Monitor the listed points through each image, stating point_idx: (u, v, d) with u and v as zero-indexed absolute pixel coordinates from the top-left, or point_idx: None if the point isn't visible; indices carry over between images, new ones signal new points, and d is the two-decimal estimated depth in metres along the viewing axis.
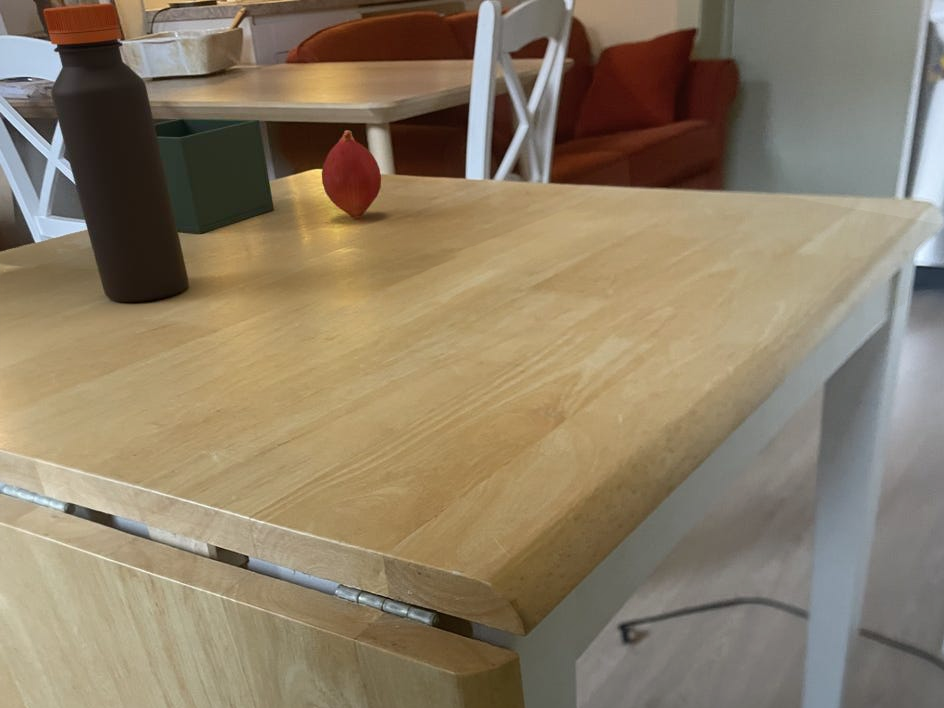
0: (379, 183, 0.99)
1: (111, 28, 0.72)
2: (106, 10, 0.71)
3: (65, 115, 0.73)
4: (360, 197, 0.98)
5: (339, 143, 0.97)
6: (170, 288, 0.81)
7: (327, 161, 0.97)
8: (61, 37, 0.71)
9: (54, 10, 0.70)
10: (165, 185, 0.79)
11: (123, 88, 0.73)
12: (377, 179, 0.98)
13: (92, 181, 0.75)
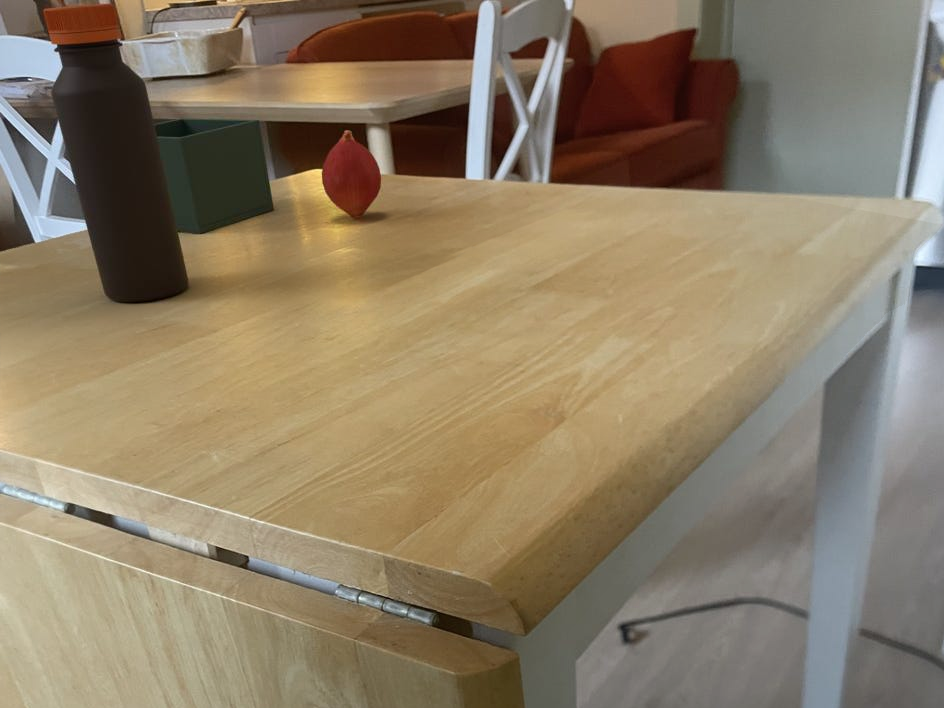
0: (379, 183, 0.99)
1: (111, 28, 0.72)
2: (106, 11, 0.71)
3: (65, 115, 0.73)
4: (360, 197, 0.98)
5: (339, 143, 0.97)
6: (170, 288, 0.81)
7: (327, 161, 0.97)
8: (61, 37, 0.71)
9: (54, 10, 0.70)
10: (165, 185, 0.79)
11: (123, 89, 0.73)
12: (377, 179, 0.98)
13: (92, 181, 0.75)
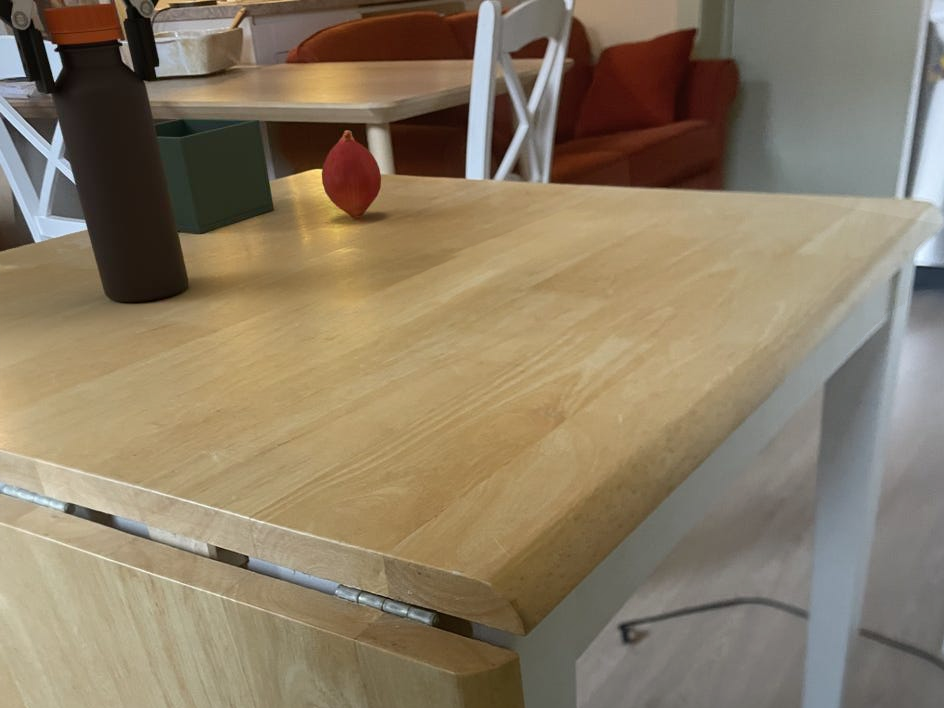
0: (379, 183, 0.99)
1: (111, 28, 0.72)
2: (106, 10, 0.71)
3: (65, 115, 0.73)
4: (360, 197, 0.98)
5: (339, 143, 0.97)
6: (170, 288, 0.81)
7: (327, 161, 0.97)
8: (62, 37, 0.71)
9: (54, 10, 0.70)
10: (165, 185, 0.78)
11: (123, 88, 0.73)
12: (377, 179, 0.98)
13: (92, 181, 0.75)
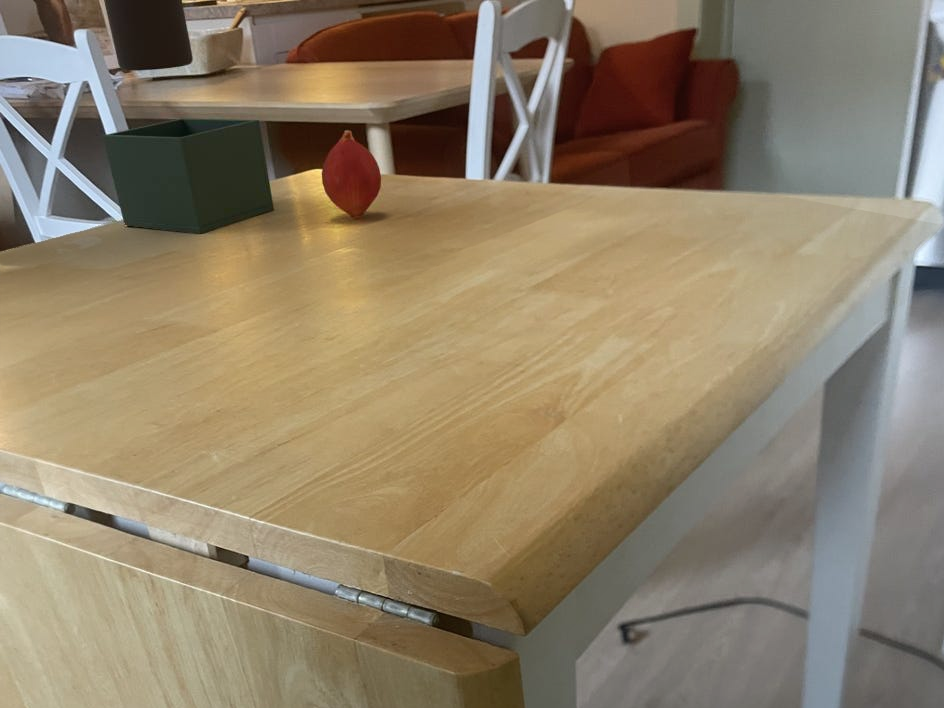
0: (379, 183, 0.99)
1: None
2: None
3: None
4: (360, 197, 0.98)
5: (339, 143, 0.97)
6: (176, 58, 0.92)
7: (327, 161, 0.97)
8: None
9: None
10: None
11: None
12: (377, 179, 0.98)
13: None
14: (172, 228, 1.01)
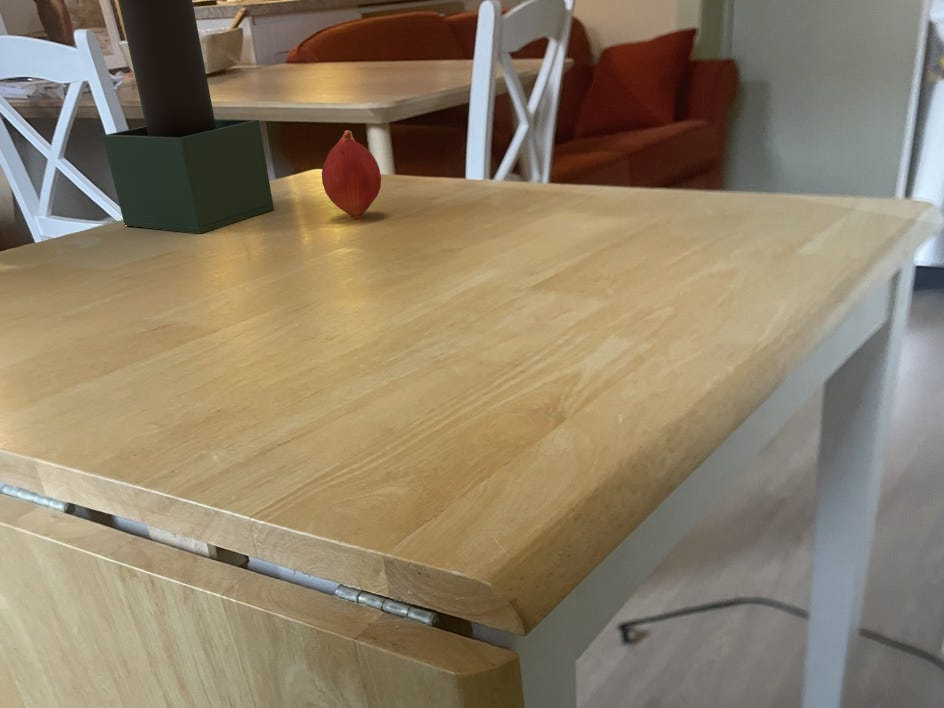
0: (379, 183, 0.99)
1: None
2: None
3: (128, 9, 0.93)
4: (360, 197, 0.98)
5: (339, 143, 0.97)
6: None
7: (327, 161, 0.97)
8: None
9: None
10: (204, 70, 0.98)
11: None
12: (377, 179, 0.98)
13: (147, 63, 0.95)
14: (172, 228, 1.01)
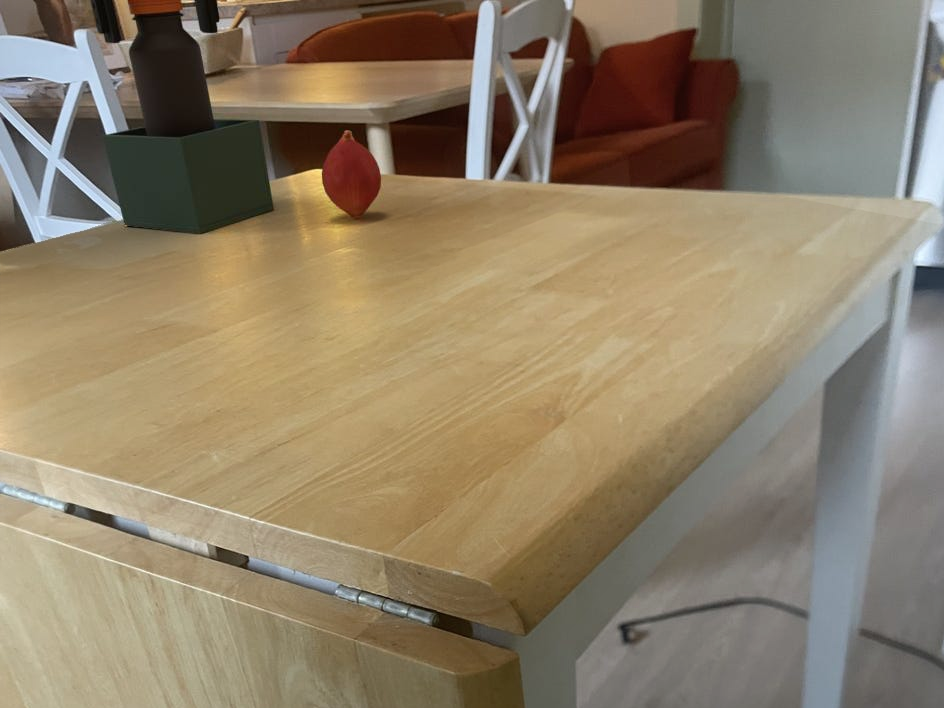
0: (379, 183, 0.99)
1: (176, 2, 0.94)
2: None
3: (140, 69, 0.96)
4: (360, 197, 0.98)
5: (339, 143, 0.97)
6: None
7: (327, 161, 0.97)
8: (139, 8, 0.94)
9: None
10: (213, 125, 1.01)
11: (184, 48, 0.95)
12: (377, 179, 0.98)
13: (159, 121, 0.98)
14: (172, 228, 1.01)
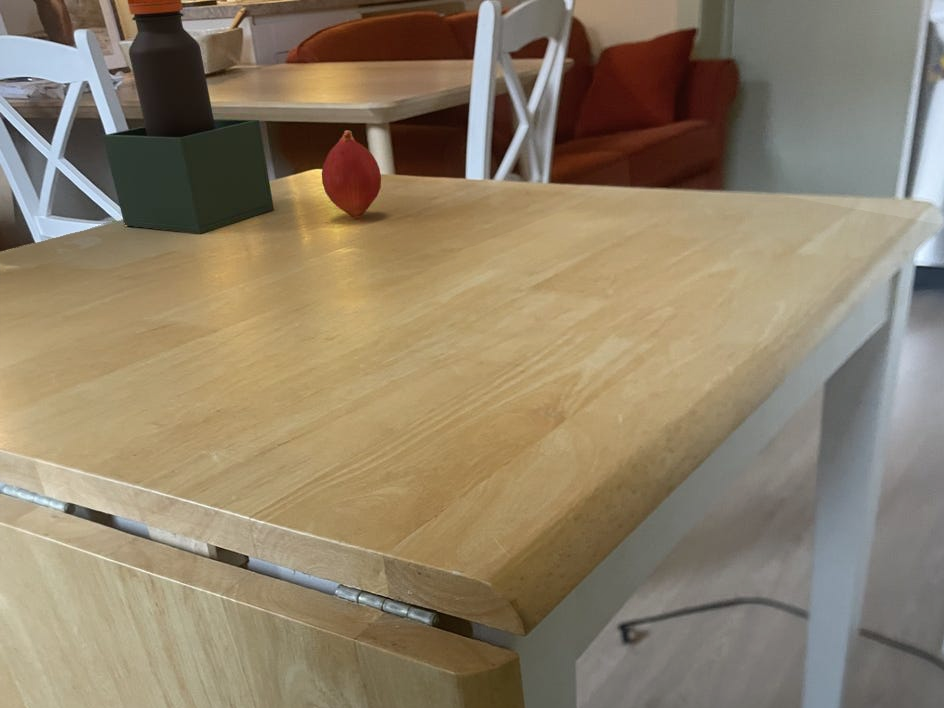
0: (379, 183, 0.99)
1: (176, 2, 0.94)
2: None
3: (140, 69, 0.96)
4: (360, 197, 0.98)
5: (339, 143, 0.97)
6: None
7: (327, 161, 0.97)
8: (139, 8, 0.94)
9: None
10: (213, 125, 1.01)
11: (185, 48, 0.95)
12: (377, 179, 0.98)
13: (159, 121, 0.98)
14: (172, 228, 1.01)
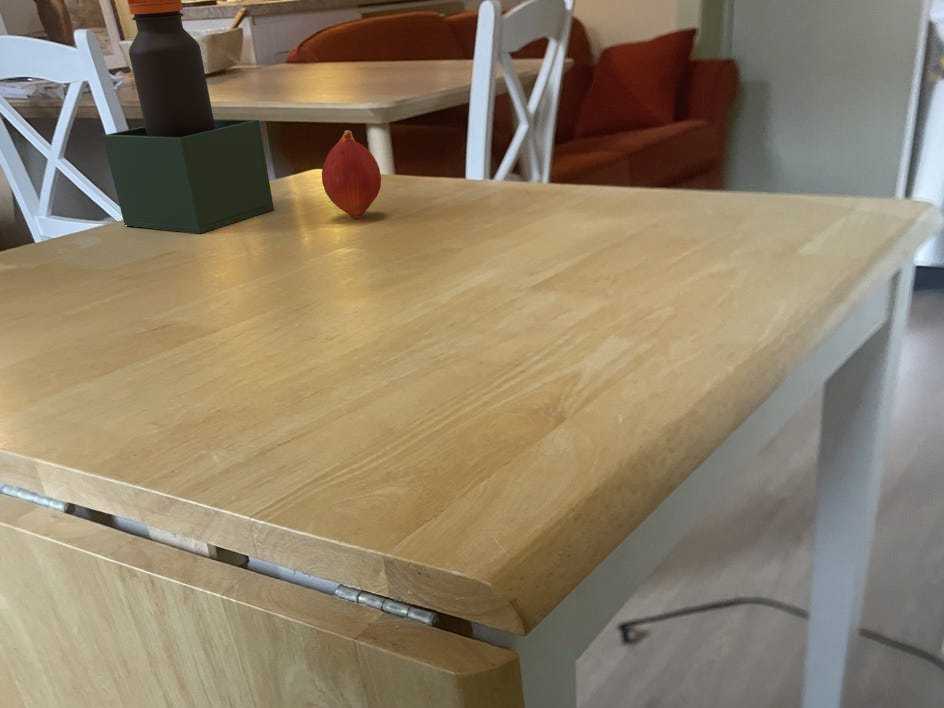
0: (379, 183, 0.99)
1: (176, 2, 0.94)
2: None
3: (140, 69, 0.96)
4: (360, 197, 0.98)
5: (339, 143, 0.97)
6: None
7: (327, 161, 0.97)
8: (139, 8, 0.94)
9: None
10: (213, 125, 1.01)
11: (185, 48, 0.95)
12: (377, 179, 0.98)
13: (159, 121, 0.98)
14: (172, 228, 1.01)
